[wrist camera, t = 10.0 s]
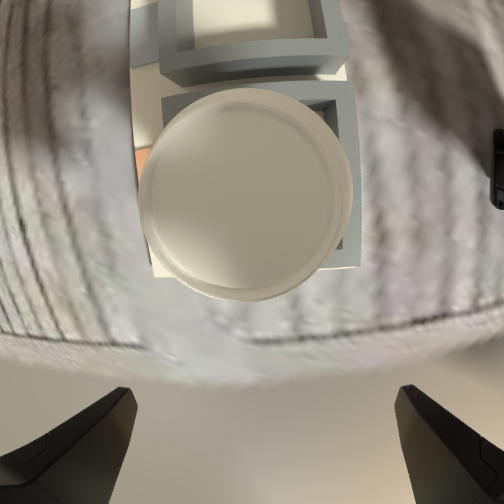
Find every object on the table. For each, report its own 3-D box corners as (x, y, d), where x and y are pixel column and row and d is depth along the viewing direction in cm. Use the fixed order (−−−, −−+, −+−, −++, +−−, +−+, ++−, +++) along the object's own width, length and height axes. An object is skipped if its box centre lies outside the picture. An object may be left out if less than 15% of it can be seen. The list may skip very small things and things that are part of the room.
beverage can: (206, 213, 19) (115, 299, 8) (219, 117, 17) (130, 68, 6) (302, 229, 19) (335, 340, 8) (319, 132, 17) (391, 101, 6)
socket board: (318, -44, 13) (326, -81, 8) (351, 262, 20) (370, 293, 16) (137, -19, 14) (109, -47, 10) (159, 272, 22) (131, 302, 17)
